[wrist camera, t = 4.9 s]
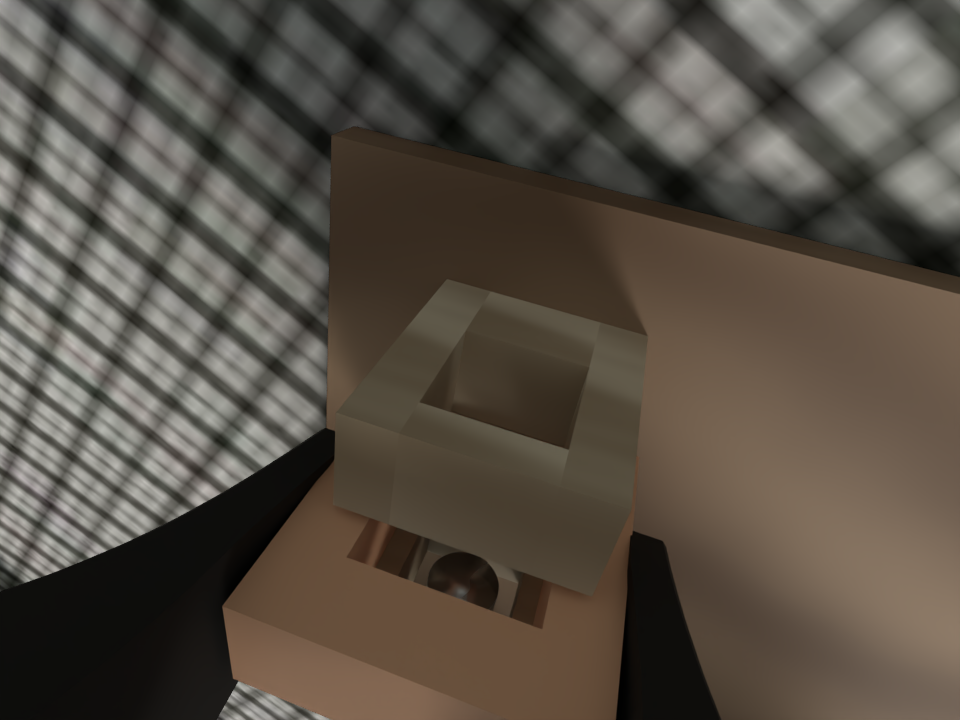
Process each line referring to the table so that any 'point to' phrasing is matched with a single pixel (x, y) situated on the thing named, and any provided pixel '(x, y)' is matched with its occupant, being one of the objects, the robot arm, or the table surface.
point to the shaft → (465, 579)
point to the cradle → (655, 419)
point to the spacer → (415, 632)
